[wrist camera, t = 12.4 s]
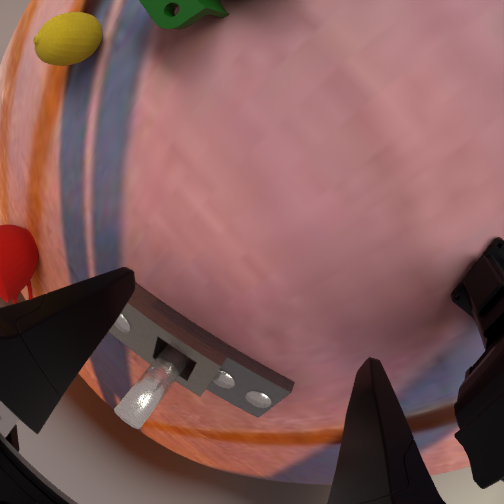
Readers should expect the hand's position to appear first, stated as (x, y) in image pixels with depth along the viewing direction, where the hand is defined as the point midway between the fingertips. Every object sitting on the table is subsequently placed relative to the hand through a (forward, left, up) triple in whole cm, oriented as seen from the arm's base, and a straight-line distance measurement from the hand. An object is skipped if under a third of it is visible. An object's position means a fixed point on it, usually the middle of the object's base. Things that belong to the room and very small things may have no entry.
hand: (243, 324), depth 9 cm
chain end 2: (0, +23, -13) cm, 26 cm away
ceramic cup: (+38, +32, -13) cm, 51 cm away
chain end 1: (+7, +23, -13) cm, 27 cm away
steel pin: (+4, +22, -13) cm, 26 cm away
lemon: (+25, -6, -13) cm, 29 cm away
